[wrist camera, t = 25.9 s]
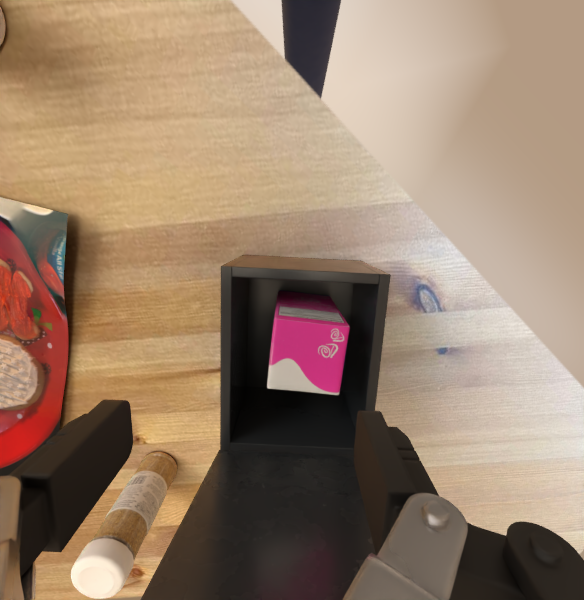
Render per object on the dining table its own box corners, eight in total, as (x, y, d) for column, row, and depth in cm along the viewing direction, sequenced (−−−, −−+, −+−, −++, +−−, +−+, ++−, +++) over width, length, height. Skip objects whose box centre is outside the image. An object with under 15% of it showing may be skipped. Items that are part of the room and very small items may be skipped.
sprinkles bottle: (145, 482, 41) (74, 603, 28) (139, 450, 40) (62, 560, 27) (181, 480, 41) (127, 600, 27) (176, 448, 40) (117, 557, 27)
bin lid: (109, 658, 11) (96, 833, 10) (496, 676, 11) (492, 851, 10) (219, 449, 27) (215, 515, 27) (370, 456, 27) (368, 522, 27)
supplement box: (325, 346, 36) (339, 399, 25) (272, 339, 36) (261, 390, 24) (333, 295, 35) (351, 326, 23) (277, 288, 34) (269, 317, 23)
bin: (243, 254, 35) (220, 265, 24) (361, 260, 35) (390, 274, 24) (240, 388, 38) (220, 450, 27) (348, 394, 38) (369, 457, 27)
